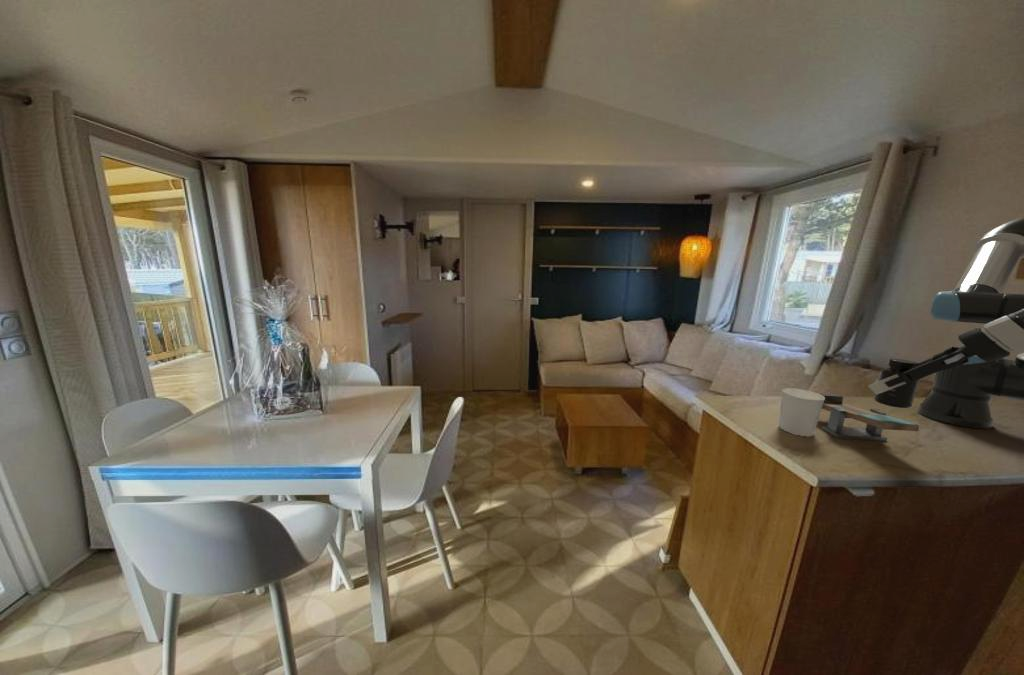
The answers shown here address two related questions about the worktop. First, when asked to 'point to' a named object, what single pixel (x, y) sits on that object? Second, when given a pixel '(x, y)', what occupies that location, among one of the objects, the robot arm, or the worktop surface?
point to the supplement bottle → (900, 394)
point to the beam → (867, 415)
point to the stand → (842, 432)
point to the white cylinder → (800, 411)
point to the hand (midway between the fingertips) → (875, 387)
